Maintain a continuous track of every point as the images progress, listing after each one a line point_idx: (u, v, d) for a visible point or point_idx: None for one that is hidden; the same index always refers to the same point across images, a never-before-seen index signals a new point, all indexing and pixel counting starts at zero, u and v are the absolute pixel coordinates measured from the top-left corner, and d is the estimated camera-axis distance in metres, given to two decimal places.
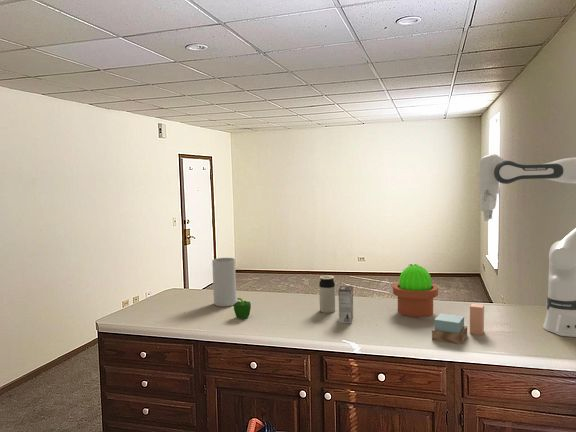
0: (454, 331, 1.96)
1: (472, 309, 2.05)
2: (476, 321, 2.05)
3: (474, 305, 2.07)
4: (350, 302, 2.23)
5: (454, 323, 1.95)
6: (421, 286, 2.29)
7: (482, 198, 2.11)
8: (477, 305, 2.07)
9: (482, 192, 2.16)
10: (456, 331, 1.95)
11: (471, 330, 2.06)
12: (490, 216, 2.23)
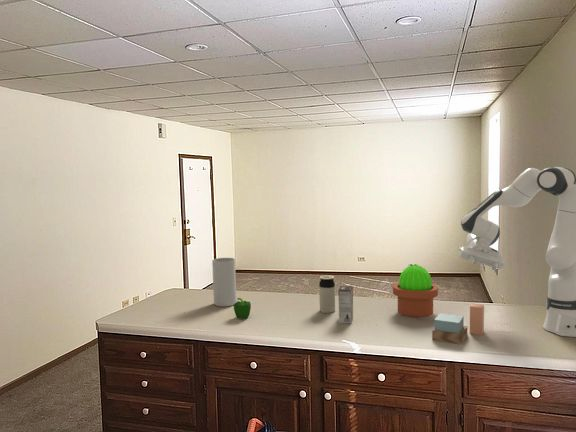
0: (454, 331, 1.96)
1: (472, 309, 2.05)
2: (476, 321, 2.05)
3: (474, 305, 2.07)
4: (350, 302, 2.23)
5: (454, 323, 1.95)
6: (421, 286, 2.29)
7: (460, 251, 2.25)
8: (477, 305, 2.07)
9: None
10: (456, 331, 1.95)
11: (471, 330, 2.06)
12: (493, 266, 2.15)
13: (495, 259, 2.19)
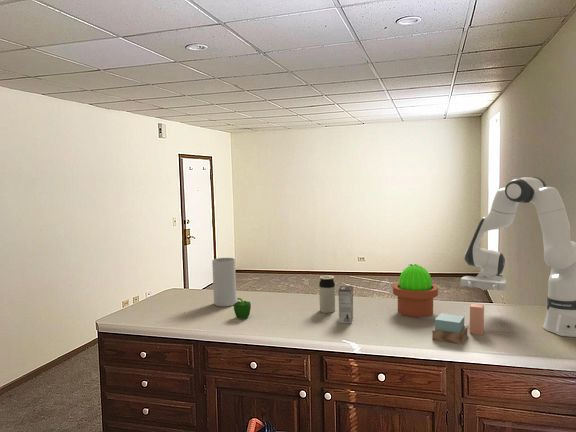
0: (455, 331, 1.96)
1: (472, 309, 2.05)
2: (476, 321, 2.05)
3: (474, 305, 2.07)
4: (350, 302, 2.23)
5: (455, 323, 1.96)
6: (421, 286, 2.29)
7: None
8: (477, 305, 2.07)
9: None
10: (457, 331, 1.95)
11: (471, 330, 2.06)
12: (490, 286, 2.15)
13: (496, 281, 2.19)
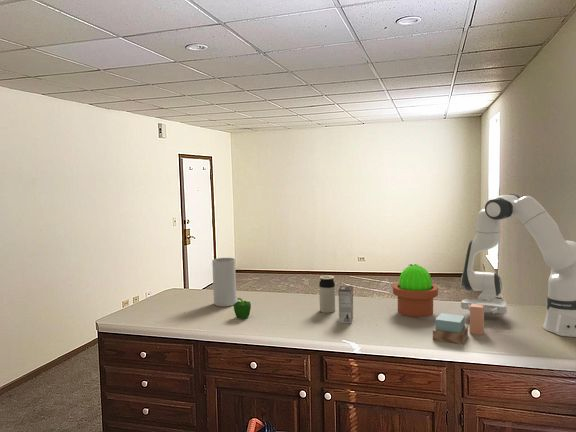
0: (455, 331, 1.96)
1: (472, 309, 2.05)
2: (476, 321, 2.05)
3: (474, 305, 2.07)
4: (350, 302, 2.23)
5: (455, 323, 1.96)
6: (421, 286, 2.29)
7: None
8: (477, 305, 2.07)
9: None
10: (457, 331, 1.96)
11: (471, 330, 2.06)
12: (491, 310, 2.16)
13: (496, 304, 2.20)
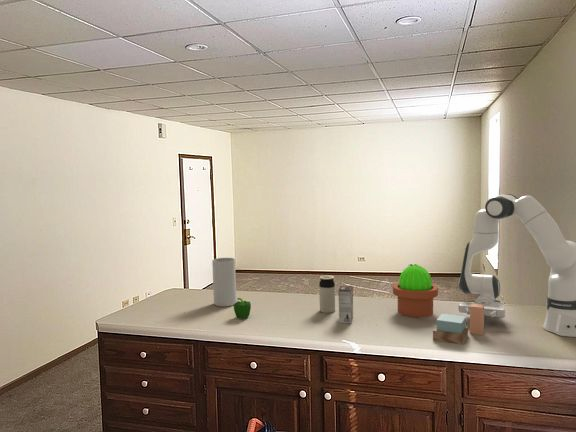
0: (456, 331, 1.95)
1: (472, 309, 2.05)
2: (476, 321, 2.05)
3: (474, 305, 2.07)
4: (350, 302, 2.23)
5: (456, 323, 1.95)
6: (421, 286, 2.29)
7: None
8: (477, 305, 2.07)
9: None
10: (458, 331, 1.95)
11: (471, 330, 2.06)
12: (489, 313, 2.11)
13: (494, 308, 2.15)
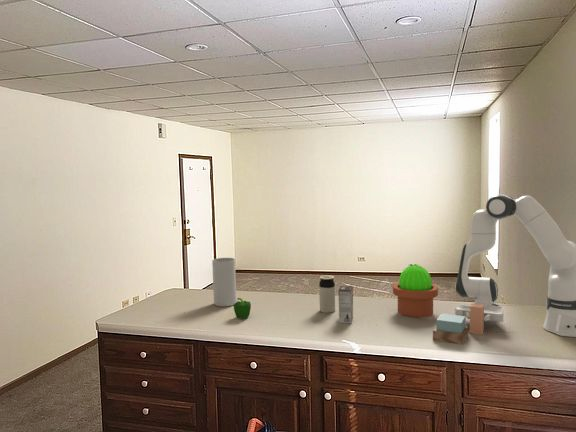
0: (456, 331, 1.95)
1: (472, 309, 2.05)
2: (476, 321, 2.05)
3: (474, 305, 2.07)
4: (350, 302, 2.23)
5: (456, 323, 1.95)
6: (421, 286, 2.29)
7: None
8: (477, 305, 2.07)
9: None
10: (458, 331, 1.95)
11: (471, 330, 2.06)
12: (483, 317, 2.06)
13: (492, 312, 2.09)
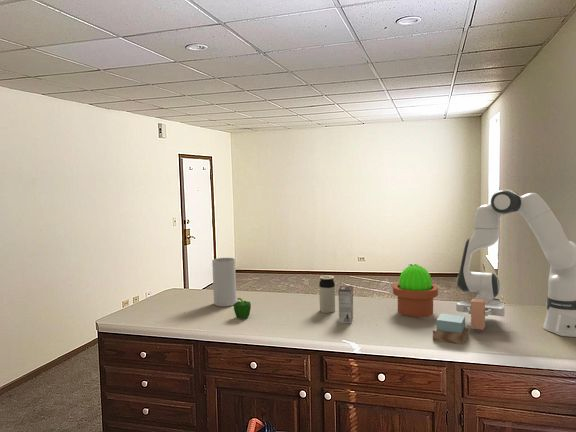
0: (456, 331, 1.95)
1: (473, 304, 2.05)
2: (477, 316, 2.04)
3: (475, 300, 2.07)
4: (350, 302, 2.23)
5: (456, 323, 1.95)
6: (421, 286, 2.29)
7: None
8: (478, 300, 2.06)
9: None
10: (458, 331, 1.95)
11: (472, 325, 2.06)
12: (484, 311, 2.05)
13: (493, 306, 2.08)
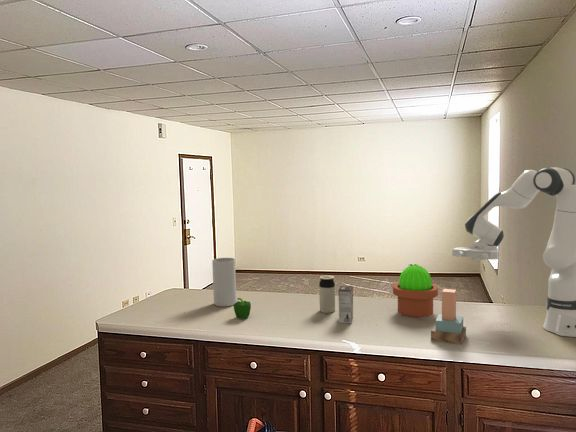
0: (455, 331, 1.95)
1: (444, 294, 1.99)
2: (448, 307, 1.98)
3: (446, 290, 2.01)
4: (350, 302, 2.23)
5: (455, 323, 1.95)
6: (421, 286, 2.29)
7: None
8: (449, 290, 2.00)
9: None
10: (457, 331, 1.95)
11: (443, 316, 2.00)
12: (482, 255, 2.15)
13: (487, 250, 2.19)
